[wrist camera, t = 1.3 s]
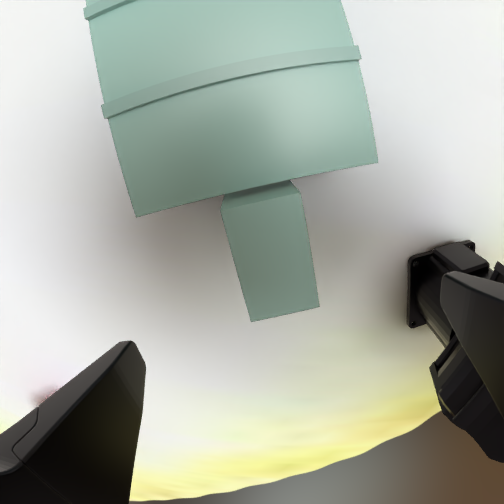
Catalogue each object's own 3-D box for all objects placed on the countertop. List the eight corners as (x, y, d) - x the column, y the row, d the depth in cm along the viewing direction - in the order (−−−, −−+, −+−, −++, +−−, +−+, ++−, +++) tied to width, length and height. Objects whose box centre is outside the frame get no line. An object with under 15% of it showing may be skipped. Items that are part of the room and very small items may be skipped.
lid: (376, 259, 16) (399, 285, 13) (179, 303, 17) (169, 336, 14) (291, -89, 9) (300, -119, 6) (93, -41, 9) (69, -63, 6)
